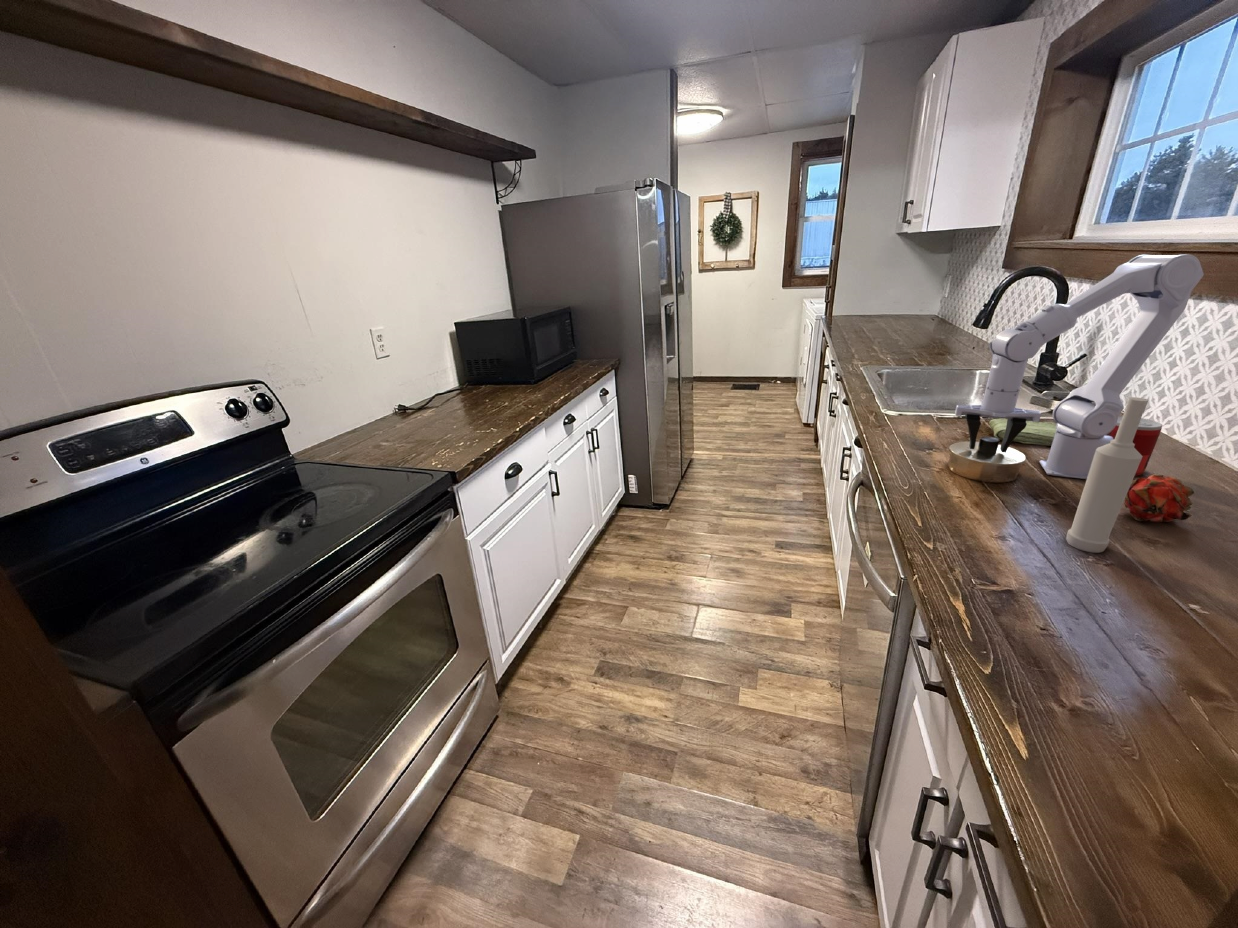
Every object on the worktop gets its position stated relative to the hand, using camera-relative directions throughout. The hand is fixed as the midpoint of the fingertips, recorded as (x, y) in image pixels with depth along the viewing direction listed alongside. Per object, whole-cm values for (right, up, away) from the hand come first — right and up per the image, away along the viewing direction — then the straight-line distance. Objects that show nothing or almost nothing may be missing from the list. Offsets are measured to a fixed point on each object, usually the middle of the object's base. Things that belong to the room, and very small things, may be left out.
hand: (987, 449), depth 109 cm
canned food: (+28, -5, 0) cm, 29 cm away
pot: (0, -5, +2) cm, 5 cm away
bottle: (-3, -17, -26) cm, 31 cm away
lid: (0, -1, 0) cm, 1 cm away
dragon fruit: (+15, -13, -20) cm, 28 cm away
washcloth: (+26, +3, +19) cm, 33 cm away
